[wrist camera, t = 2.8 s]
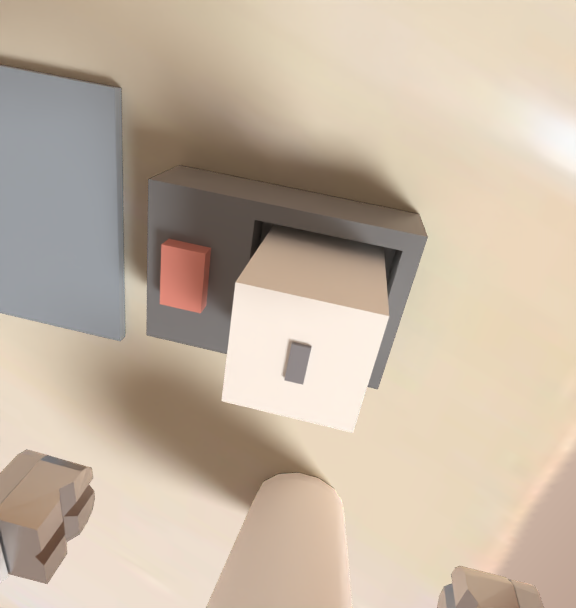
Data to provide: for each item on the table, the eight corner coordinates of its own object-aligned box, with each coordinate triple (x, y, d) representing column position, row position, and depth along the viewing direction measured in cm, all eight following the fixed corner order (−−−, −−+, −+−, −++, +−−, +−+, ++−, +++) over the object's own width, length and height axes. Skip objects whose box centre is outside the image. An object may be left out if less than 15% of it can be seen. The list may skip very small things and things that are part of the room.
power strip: (376, 351, 25) (378, 399, 21) (173, 304, 26) (139, 343, 22) (419, 214, 21) (429, 243, 17) (179, 165, 22) (139, 182, 18)
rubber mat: (125, 336, 27) (120, 341, 27) (-53, 294, 28) (-62, 298, 28) (121, 87, 21) (114, 88, 20) (-111, 43, 22) (-123, 42, 21)
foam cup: (292, 561, 35) (253, 799, 23) (210, 488, 32) (123, 711, 21) (393, 521, 31) (407, 781, 19) (308, 435, 29) (267, 673, 17)
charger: (357, 338, 23) (352, 435, 17) (260, 316, 23) (220, 403, 17) (383, 245, 21) (389, 318, 14) (275, 222, 21) (234, 284, 15)
